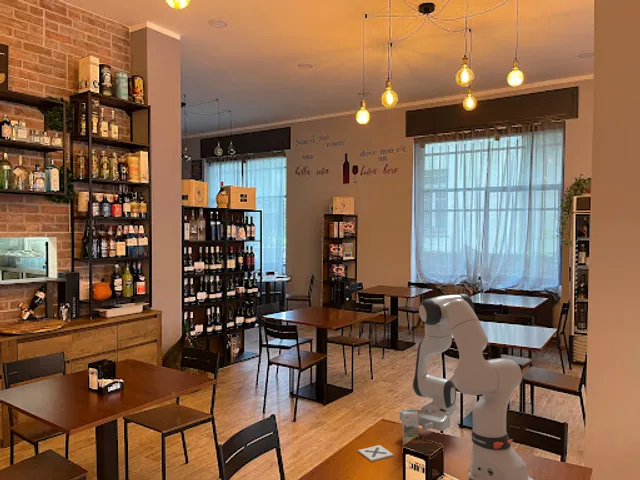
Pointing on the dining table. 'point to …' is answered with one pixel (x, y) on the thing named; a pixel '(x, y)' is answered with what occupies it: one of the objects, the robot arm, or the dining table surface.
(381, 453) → the letter card
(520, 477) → the robot arm
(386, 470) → the dining table surface
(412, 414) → the syrup box
